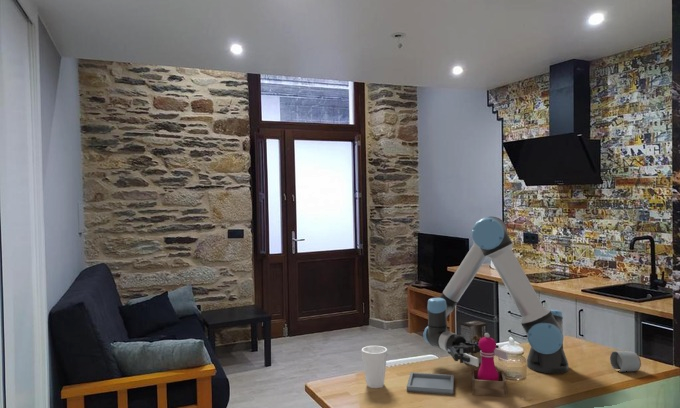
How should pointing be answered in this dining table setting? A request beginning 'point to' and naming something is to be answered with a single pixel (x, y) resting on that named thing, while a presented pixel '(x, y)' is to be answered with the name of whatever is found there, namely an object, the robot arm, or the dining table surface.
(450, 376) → the slate tray
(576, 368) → the dining table surface
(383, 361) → the foam cup
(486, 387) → the wooden box
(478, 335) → the coffee box
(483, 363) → the pepper mill
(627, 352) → the grey slotted cylinder
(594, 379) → the dining table surface
